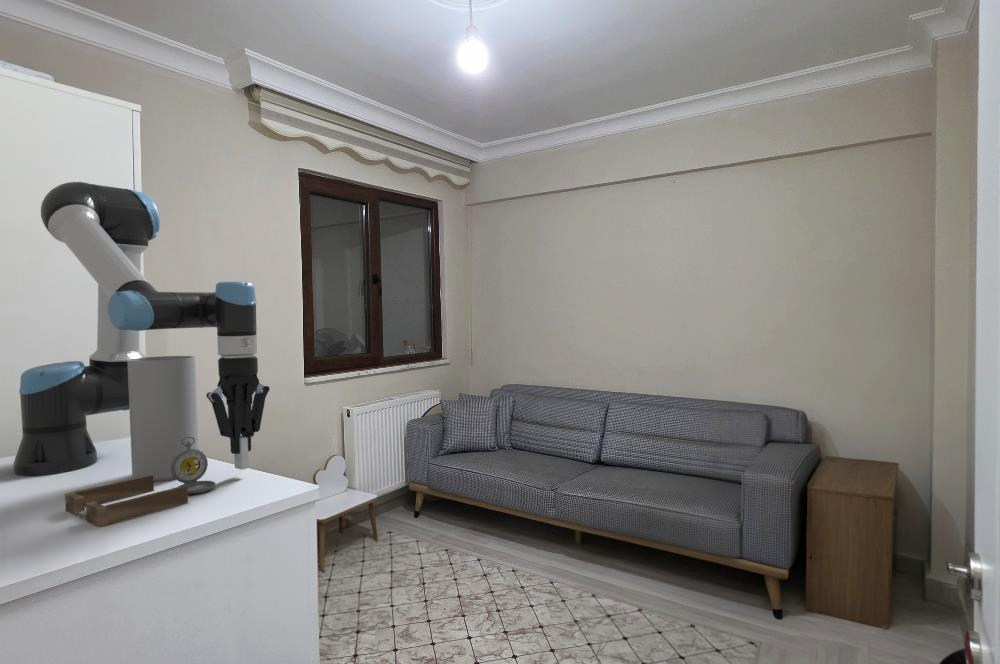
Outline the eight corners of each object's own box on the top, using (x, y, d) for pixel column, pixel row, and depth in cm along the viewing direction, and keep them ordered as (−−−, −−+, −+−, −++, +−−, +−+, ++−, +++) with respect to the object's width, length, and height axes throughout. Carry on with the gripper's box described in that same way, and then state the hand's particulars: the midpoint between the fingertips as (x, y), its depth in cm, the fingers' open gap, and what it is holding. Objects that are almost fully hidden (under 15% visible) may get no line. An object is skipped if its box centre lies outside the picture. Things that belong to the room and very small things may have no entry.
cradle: (65, 510, 104) (64, 493, 104) (150, 489, 115) (150, 474, 115) (99, 527, 95) (98, 509, 95) (187, 502, 107) (187, 486, 107)
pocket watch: (199, 497, 110) (197, 444, 110) (160, 494, 112) (158, 443, 112) (227, 483, 118) (225, 434, 118) (191, 482, 120) (189, 433, 120)
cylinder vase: (118, 479, 123) (113, 360, 122) (171, 463, 134) (167, 355, 133) (160, 485, 118) (155, 361, 117) (212, 469, 130) (208, 356, 128)
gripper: (217, 359, 115) (221, 478, 116) (276, 354, 125) (279, 463, 126) (197, 357, 119) (201, 472, 120) (256, 353, 130) (259, 458, 131)
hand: (241, 467), depth 123 cm, fingers closed
